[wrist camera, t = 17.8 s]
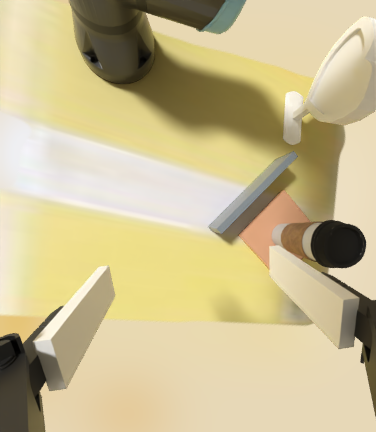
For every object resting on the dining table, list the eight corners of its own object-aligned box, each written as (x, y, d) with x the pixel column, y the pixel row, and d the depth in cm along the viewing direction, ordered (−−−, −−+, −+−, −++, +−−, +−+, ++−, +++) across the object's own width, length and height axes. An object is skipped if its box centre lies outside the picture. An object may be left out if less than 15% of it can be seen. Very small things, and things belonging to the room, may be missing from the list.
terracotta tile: (238, 235, 43) (240, 235, 42) (281, 190, 44) (284, 190, 43) (279, 280, 45) (281, 281, 44) (318, 235, 46) (322, 236, 45)
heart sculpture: (286, 85, 44) (372, 0, 27) (303, 89, 45) (397, 8, 28) (282, 147, 44) (365, 102, 27) (299, 149, 45) (391, 108, 28)
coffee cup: (299, 249, 44) (370, 266, 30) (269, 255, 43) (328, 277, 28) (295, 216, 44) (364, 216, 29) (264, 221, 43) (321, 225, 28)
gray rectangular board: (208, 226, 41) (216, 228, 35) (275, 159, 44) (293, 151, 38) (212, 231, 41) (221, 234, 36) (279, 164, 44) (297, 156, 38)
